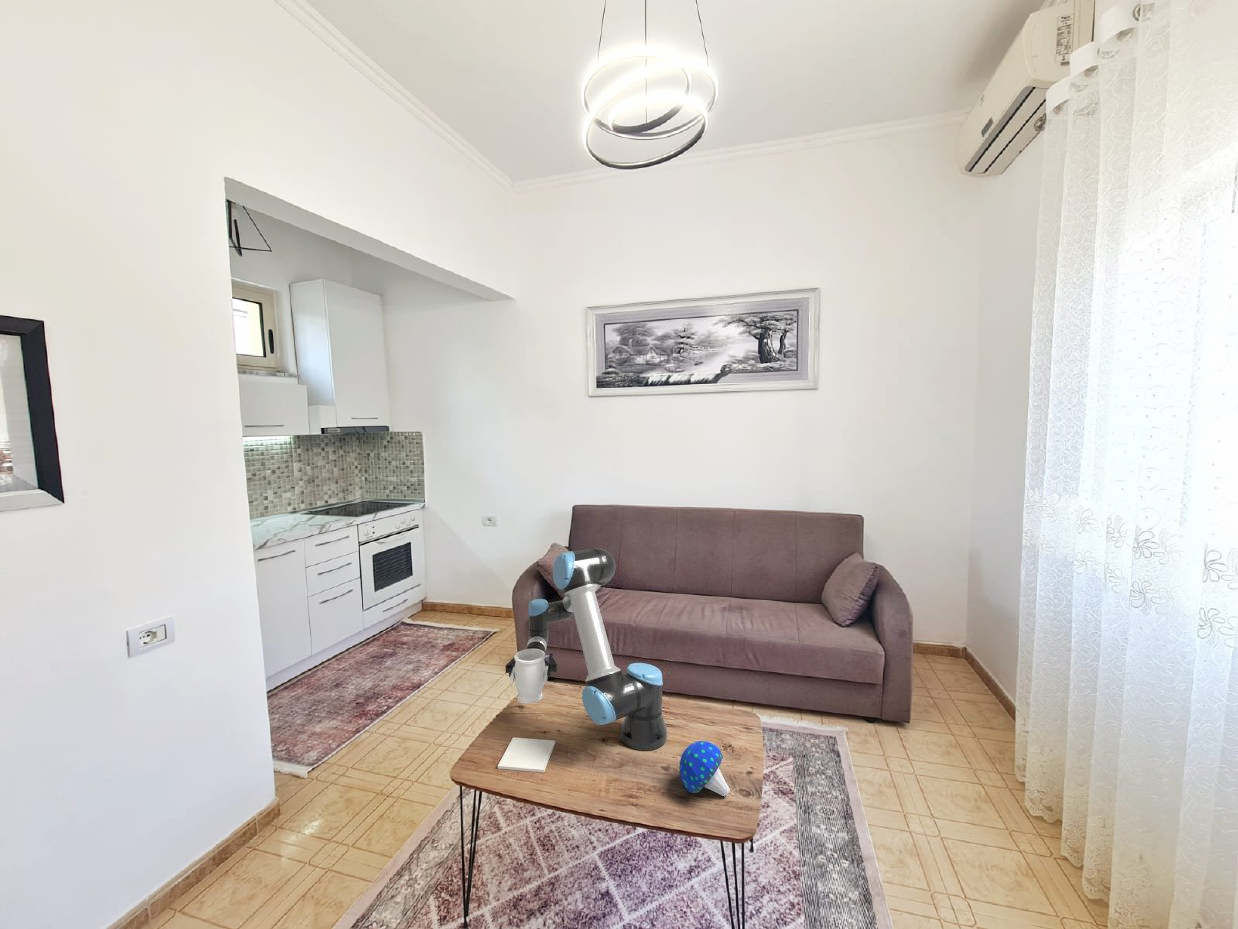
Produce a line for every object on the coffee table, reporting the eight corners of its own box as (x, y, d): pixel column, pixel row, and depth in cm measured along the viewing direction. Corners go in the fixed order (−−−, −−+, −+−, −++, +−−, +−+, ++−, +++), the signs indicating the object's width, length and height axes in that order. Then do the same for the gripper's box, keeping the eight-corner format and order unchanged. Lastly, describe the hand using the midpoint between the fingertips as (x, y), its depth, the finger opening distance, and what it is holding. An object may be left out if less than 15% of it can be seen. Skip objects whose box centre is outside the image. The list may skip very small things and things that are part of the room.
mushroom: (743, 786, 127) (698, 740, 132) (708, 826, 128) (664, 779, 133) (744, 763, 141) (703, 722, 145) (712, 799, 142) (673, 758, 146)
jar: (538, 708, 161) (538, 663, 160) (509, 704, 163) (509, 660, 162) (549, 691, 171) (549, 649, 170) (521, 688, 173) (521, 646, 172)
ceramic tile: (555, 743, 157) (555, 740, 157) (543, 772, 143) (543, 770, 143) (513, 739, 159) (513, 737, 159) (497, 768, 145) (497, 766, 145)
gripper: (566, 659, 185) (563, 689, 163) (504, 661, 184) (493, 691, 162) (566, 640, 185) (563, 667, 163) (504, 641, 184) (493, 669, 161)
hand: (528, 679), depth 162 cm, fingers closed on jar, 10 cm apart
